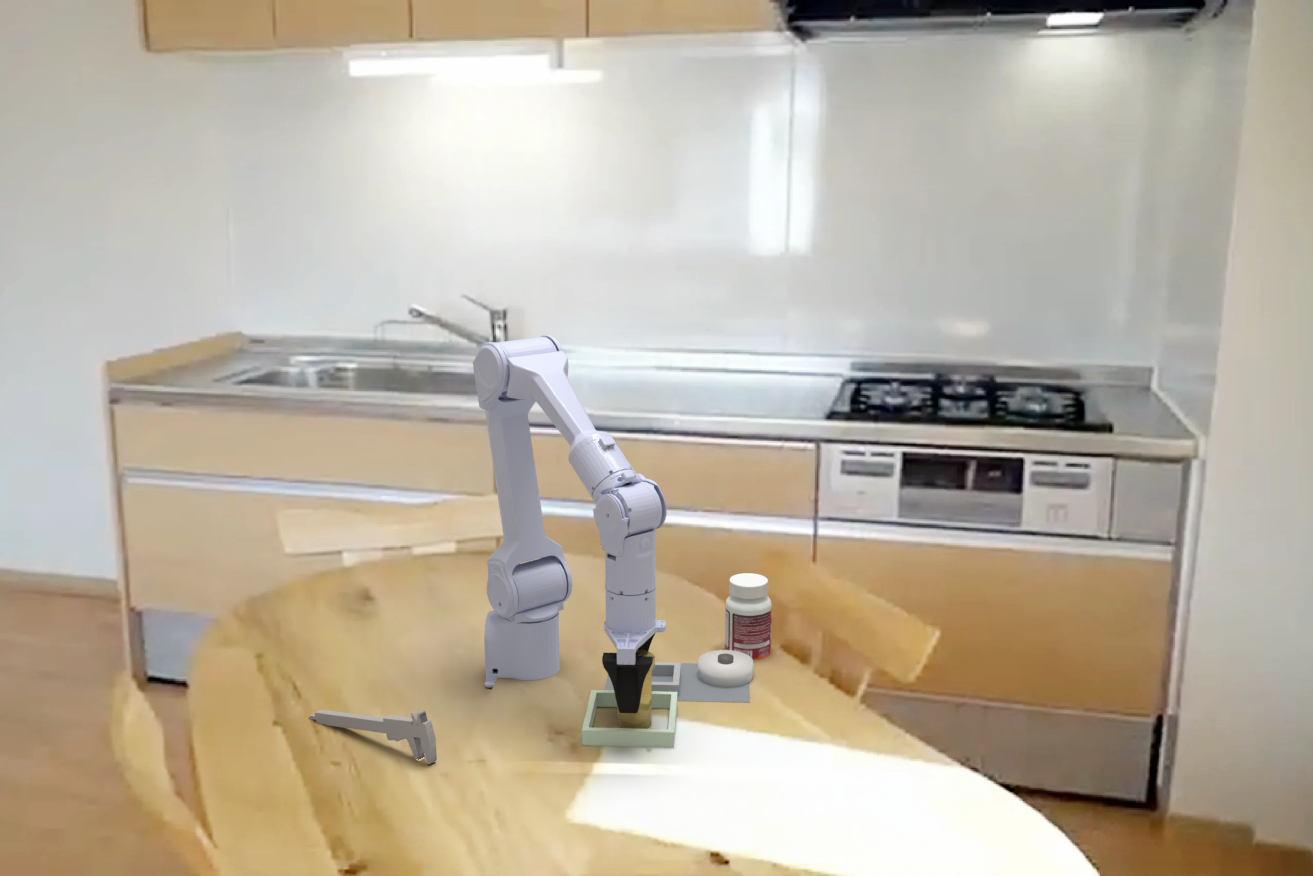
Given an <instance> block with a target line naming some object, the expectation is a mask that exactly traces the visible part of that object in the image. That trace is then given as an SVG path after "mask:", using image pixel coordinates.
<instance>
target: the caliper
mask: <svg viewBox="0 0 1313 876" xmlns="http://www.w3.org/2000/svg"><path fill="white" fill-rule="evenodd" d="M410 715H411V717H410V716H402V715H393V714H392V715H391V714H389V715H387V716H385V717H380V716H372V715H366V714H365V715H364V714H359V713H351V712H345V711H344V712H342V711H335V710H328V709H320V710H317V711H315V712H314V713H312V714H310V715H309V716H308V719H309V720H312V721H313V720H314V721H315V722H316V723H318V724H321V725H324V724H325V725H324V726H328V727H329V726H331V727H337V728H344V729H345V728H346V729H353V730H358V731H366V732H373V733H379V734H385V735H386V739H387V740H388V741H395V742H400V741H403V740H406V741H407V743H408V747H409V748H410V751H411V752H412V756H413V757H414V759H415V758H416V759H418V760H419V759H421V758H423V757H425V759H426V764H427V763H428V764H430V765H431V763H432V764H433V763H435V762H437V760H438V759H437V756H438V755H437V754H438V753H437V739H436V735H435V731H434V727H433V723H432V720H429V719H428V716H427V712H426V710H424V711H422V712H420V711H419V710H418V709H416V710H415V711H412V712H411V713H410ZM434 761H435V762H434Z"/></svg>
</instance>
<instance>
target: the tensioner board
mask: <svg viewBox="0 0 1313 876" xmlns="http://www.w3.org/2000/svg"><path fill="white" fill-rule="evenodd" d="M753 679H754V660H752V658H751V657H750V656H748V655H747V654H745V653H742V652H738V651H733V650H725V649H719V650H711V651H707V652H705V653H703V654H701V655H700V656H699V657H698V659H697V663H695V662H694V663H689V662H688V663H687V662H686V663H684V662H663V661H661V662H660V661H655V668H654V669H653V670H652V691H662V692H677V702H695V703H696V702H697V703H698V702H700V703H702V702H704V703H737V704H738V703H745V704H751V696H750V695H751V693H750V692H751V691H750V682H751V681H752V680H753ZM604 690H614V688H613V685H612V682H611V679H610V677H609V675H608V674H607V676H606V682H605V686H604Z"/></svg>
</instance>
